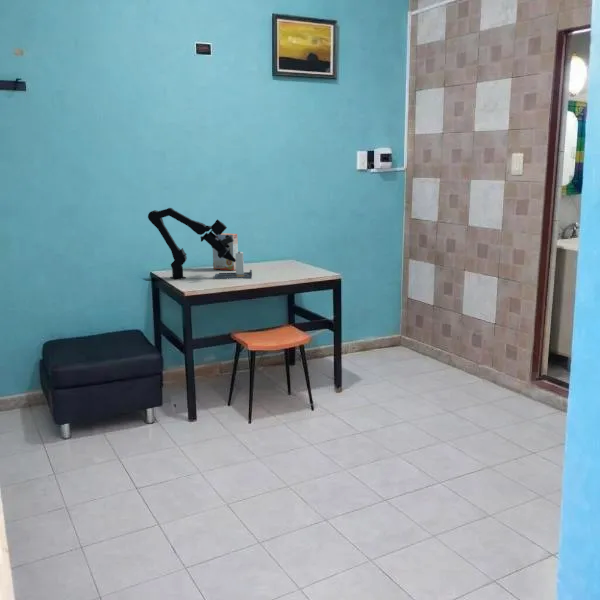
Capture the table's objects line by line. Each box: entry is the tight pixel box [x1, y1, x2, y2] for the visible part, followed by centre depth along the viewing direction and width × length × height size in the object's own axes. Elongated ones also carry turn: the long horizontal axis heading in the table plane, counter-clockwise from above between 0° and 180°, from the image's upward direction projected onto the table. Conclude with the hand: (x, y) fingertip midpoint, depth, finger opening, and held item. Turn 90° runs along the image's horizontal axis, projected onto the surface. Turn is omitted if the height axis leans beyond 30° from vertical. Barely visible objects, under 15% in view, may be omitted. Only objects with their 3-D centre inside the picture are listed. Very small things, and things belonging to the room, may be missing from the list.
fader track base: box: [213, 269, 253, 280], centre depth 353 cm, size 20×10×3 cm, turn 93°
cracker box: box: [212, 232, 239, 271], centre depth 376 cm, size 14×6×21 cm, turn 65°
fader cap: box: [235, 250, 245, 275], centre depth 352 cm, size 4×5×13 cm
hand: (235, 261), depth 351 cm, fingers closed
